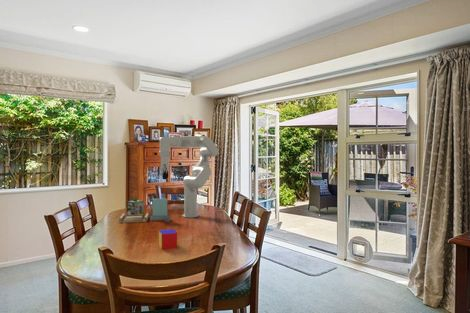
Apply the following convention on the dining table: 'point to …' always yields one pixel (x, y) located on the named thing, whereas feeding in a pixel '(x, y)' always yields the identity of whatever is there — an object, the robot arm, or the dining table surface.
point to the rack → (144, 216)
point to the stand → (160, 218)
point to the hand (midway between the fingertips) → (165, 178)
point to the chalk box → (135, 207)
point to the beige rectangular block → (133, 219)
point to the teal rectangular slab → (159, 207)
